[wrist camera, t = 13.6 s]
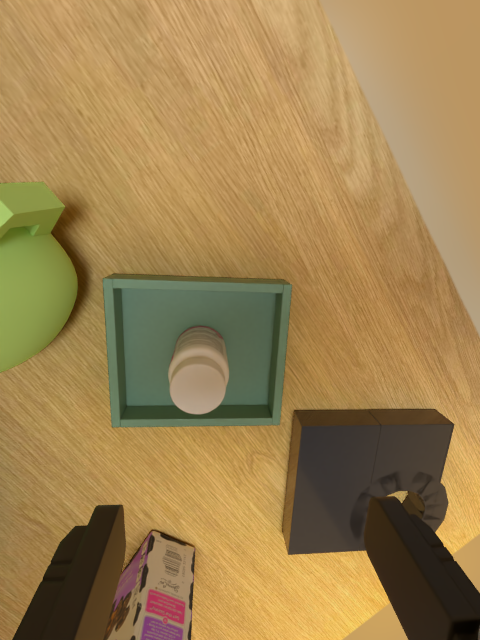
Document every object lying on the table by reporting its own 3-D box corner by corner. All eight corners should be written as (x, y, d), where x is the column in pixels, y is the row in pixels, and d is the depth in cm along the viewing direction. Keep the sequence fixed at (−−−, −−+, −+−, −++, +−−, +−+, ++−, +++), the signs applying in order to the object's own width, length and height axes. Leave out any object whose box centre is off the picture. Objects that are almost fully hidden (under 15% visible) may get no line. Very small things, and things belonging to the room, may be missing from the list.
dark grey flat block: (448, 408, 36) (468, 424, 33) (420, 528, 41) (436, 550, 38) (294, 410, 34) (301, 426, 32) (281, 535, 39) (287, 559, 36)
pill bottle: (167, 335, 30) (152, 373, 22) (214, 316, 30) (216, 347, 22) (187, 378, 32) (180, 429, 24) (232, 360, 32) (241, 405, 24)
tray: (284, 279, 31) (292, 284, 28) (273, 408, 34) (280, 425, 31) (113, 273, 29) (102, 278, 26) (120, 409, 33) (111, 427, 30)
